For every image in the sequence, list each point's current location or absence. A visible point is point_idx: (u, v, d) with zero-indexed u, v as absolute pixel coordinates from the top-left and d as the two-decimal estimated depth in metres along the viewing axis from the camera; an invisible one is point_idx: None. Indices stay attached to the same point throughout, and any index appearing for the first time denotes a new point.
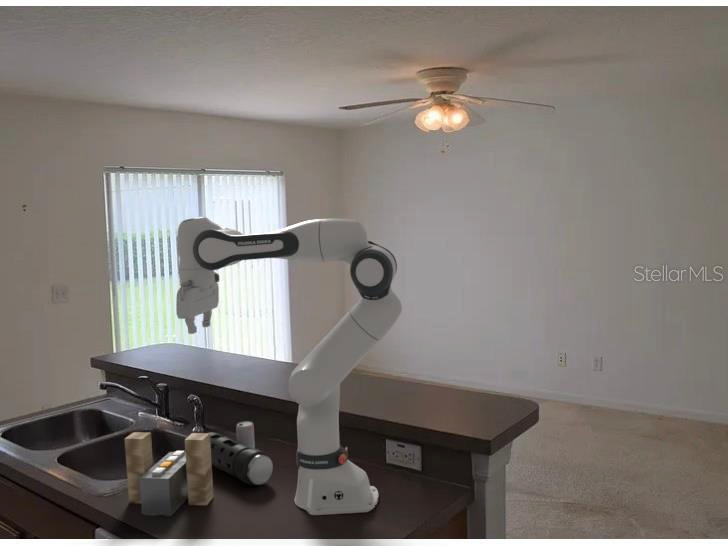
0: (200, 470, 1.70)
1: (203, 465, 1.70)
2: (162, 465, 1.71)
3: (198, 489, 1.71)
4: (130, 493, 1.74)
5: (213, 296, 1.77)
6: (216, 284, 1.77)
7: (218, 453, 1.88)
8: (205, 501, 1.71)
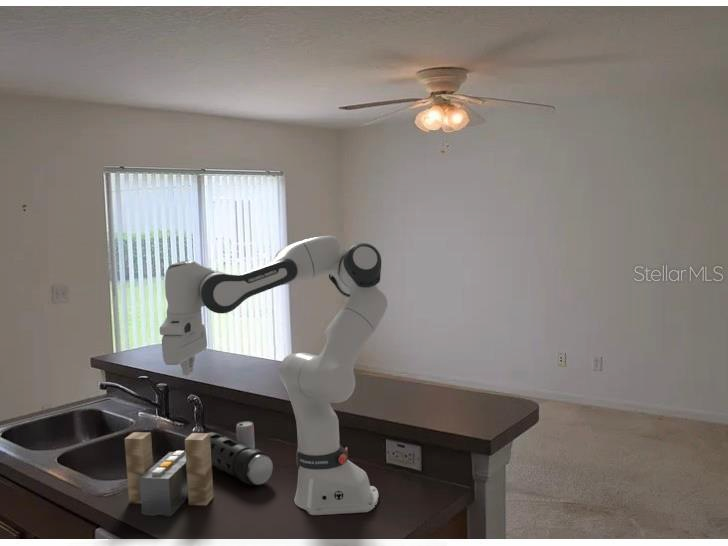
0: (200, 470, 1.70)
1: (203, 465, 1.70)
2: (162, 465, 1.71)
3: (198, 489, 1.71)
4: (130, 493, 1.74)
5: None
6: None
7: (218, 453, 1.88)
8: (205, 501, 1.71)
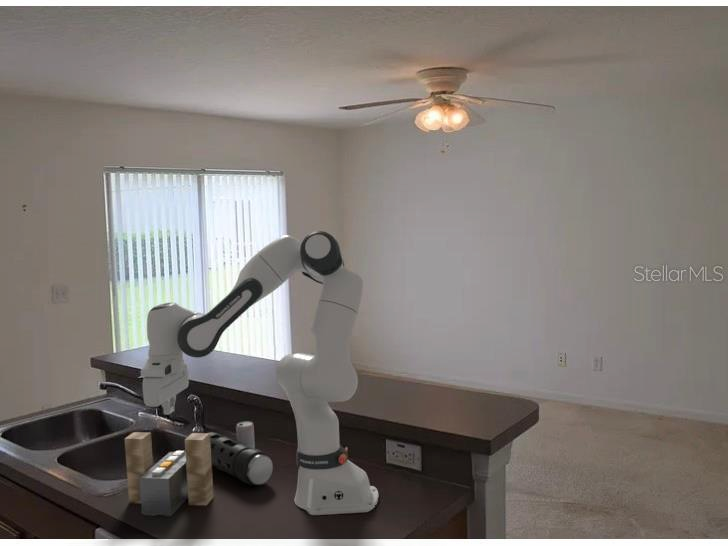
0: (200, 470, 1.70)
1: (203, 465, 1.70)
2: (162, 465, 1.71)
3: (198, 489, 1.71)
4: (130, 493, 1.74)
5: None
6: None
7: (218, 453, 1.88)
8: (205, 501, 1.71)
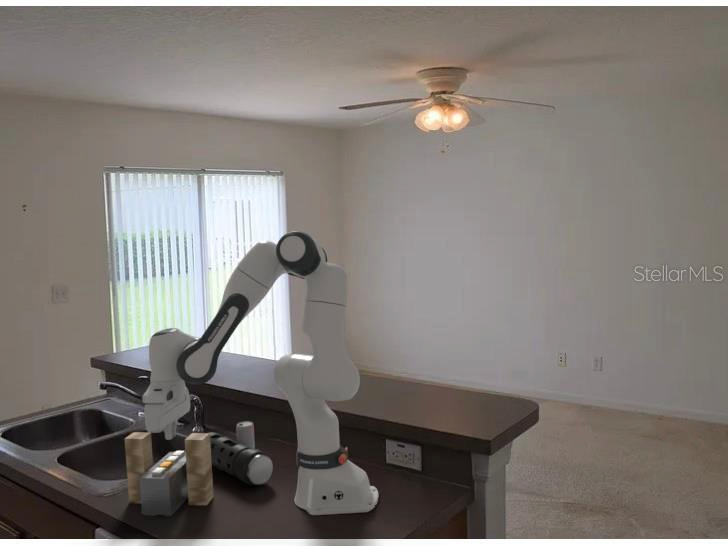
0: (200, 470, 1.70)
1: (203, 465, 1.70)
2: (162, 465, 1.71)
3: (198, 489, 1.71)
4: (130, 493, 1.74)
5: None
6: None
7: (218, 453, 1.88)
8: (205, 501, 1.71)
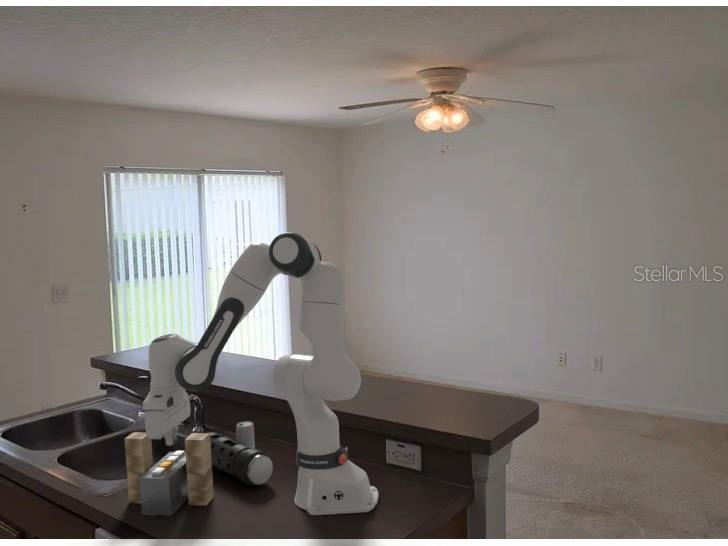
0: (200, 470, 1.70)
1: (203, 465, 1.70)
2: (162, 465, 1.71)
3: (198, 489, 1.71)
4: (130, 493, 1.74)
5: None
6: None
7: (218, 453, 1.88)
8: (205, 501, 1.71)
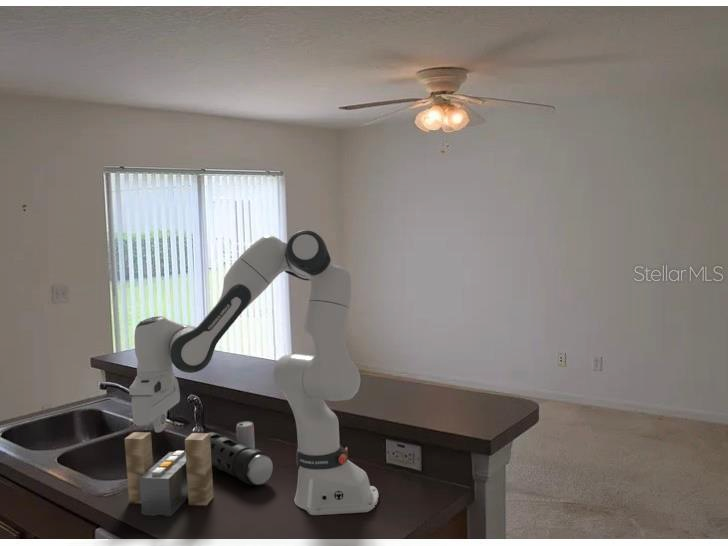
0: (200, 470, 1.70)
1: (203, 465, 1.70)
2: (162, 465, 1.71)
3: (198, 489, 1.71)
4: (130, 493, 1.74)
5: None
6: None
7: (218, 453, 1.88)
8: (205, 501, 1.71)
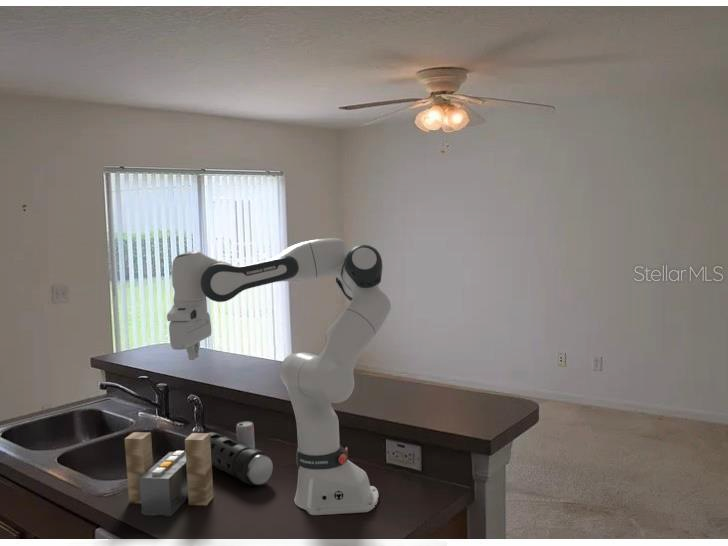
0: (200, 470, 1.70)
1: (203, 465, 1.70)
2: (162, 465, 1.71)
3: (198, 489, 1.71)
4: (130, 493, 1.74)
5: None
6: None
7: (218, 453, 1.88)
8: (205, 501, 1.71)
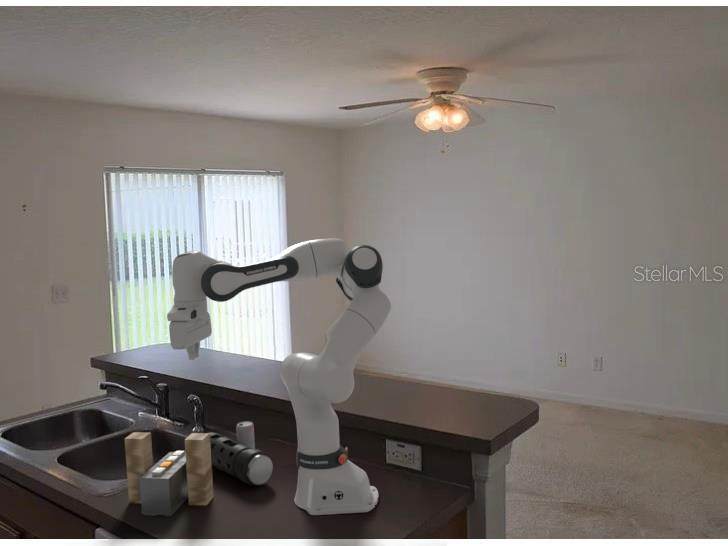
0: (200, 470, 1.70)
1: (203, 465, 1.70)
2: (162, 465, 1.71)
3: (198, 489, 1.71)
4: (130, 493, 1.74)
5: None
6: None
7: (218, 453, 1.88)
8: (205, 501, 1.71)
